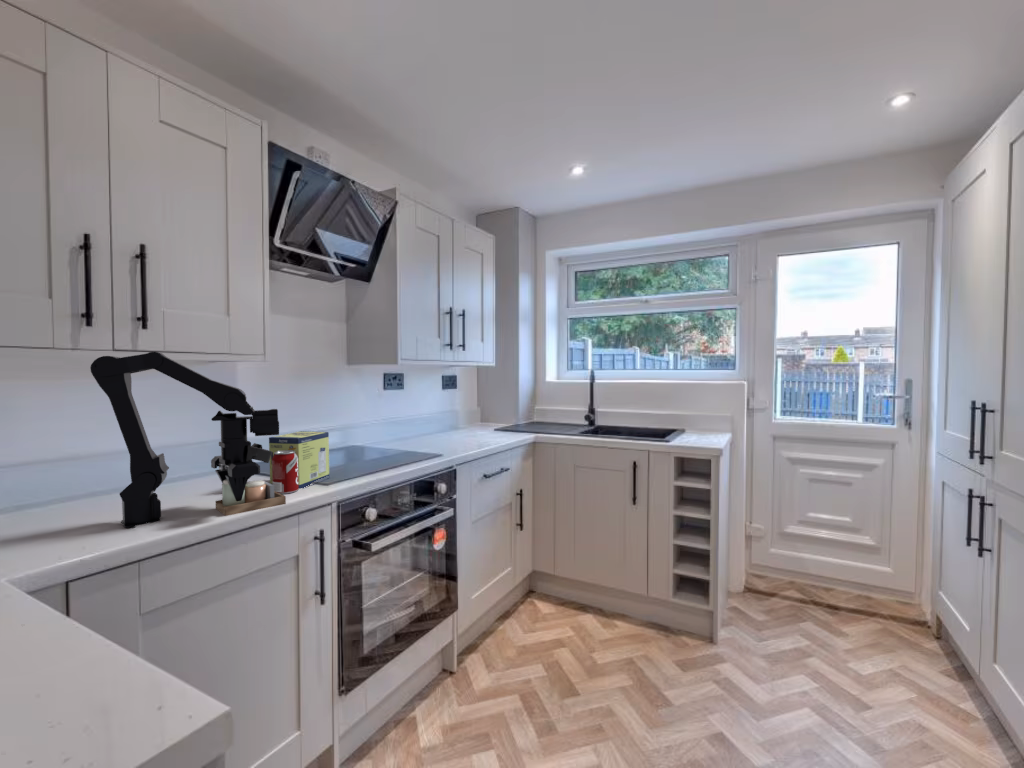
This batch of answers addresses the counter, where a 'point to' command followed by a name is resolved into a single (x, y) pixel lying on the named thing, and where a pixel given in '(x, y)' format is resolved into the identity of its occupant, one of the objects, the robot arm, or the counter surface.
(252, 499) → the terracotta jar
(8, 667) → the counter surface
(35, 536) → the counter surface
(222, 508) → the wooden tray
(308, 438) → the protein box
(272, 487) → the bar
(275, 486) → the soda can
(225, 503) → the sage jar
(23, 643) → the counter surface
